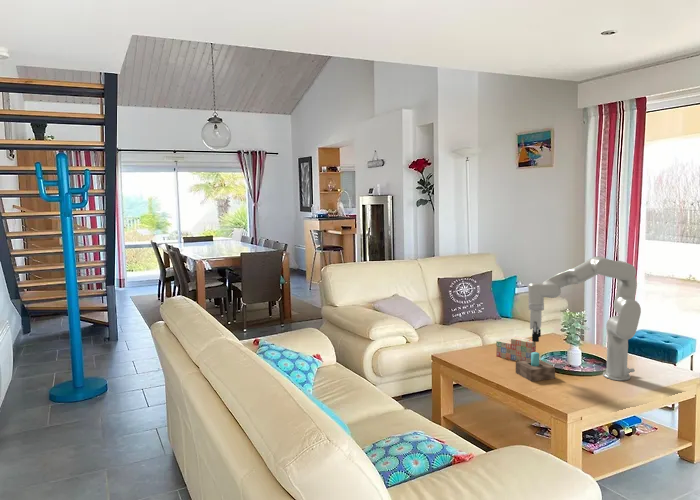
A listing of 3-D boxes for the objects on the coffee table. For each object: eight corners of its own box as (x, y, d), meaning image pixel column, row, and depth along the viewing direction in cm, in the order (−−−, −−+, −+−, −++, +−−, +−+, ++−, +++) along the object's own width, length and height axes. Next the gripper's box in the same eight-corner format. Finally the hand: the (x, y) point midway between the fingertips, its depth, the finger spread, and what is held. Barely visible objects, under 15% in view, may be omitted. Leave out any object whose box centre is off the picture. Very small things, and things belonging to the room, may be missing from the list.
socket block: (538, 369, 287) (538, 359, 286) (554, 378, 274) (555, 367, 273) (515, 372, 283) (515, 361, 283) (531, 381, 270) (531, 370, 269)
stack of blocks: (496, 356, 312) (496, 336, 311) (501, 354, 317) (501, 333, 316) (531, 363, 298) (531, 342, 296) (535, 361, 302) (536, 340, 301)
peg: (536, 373, 281) (536, 351, 280) (540, 376, 277) (541, 353, 276) (529, 374, 280) (529, 352, 279) (533, 377, 276) (534, 354, 275)
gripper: (530, 303, 284) (530, 334, 286) (526, 310, 268) (527, 343, 270) (545, 303, 281) (545, 335, 283) (542, 310, 265) (542, 344, 267)
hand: (536, 339), depth 276 cm, fingers open, 9 cm apart
